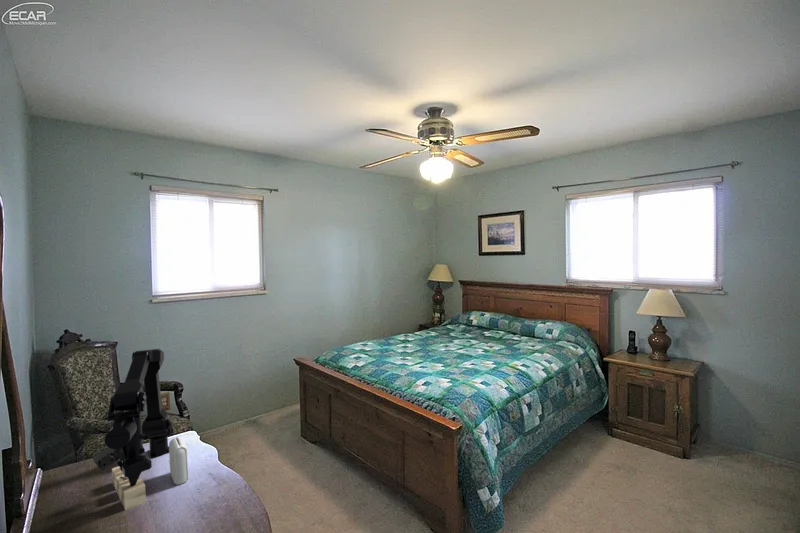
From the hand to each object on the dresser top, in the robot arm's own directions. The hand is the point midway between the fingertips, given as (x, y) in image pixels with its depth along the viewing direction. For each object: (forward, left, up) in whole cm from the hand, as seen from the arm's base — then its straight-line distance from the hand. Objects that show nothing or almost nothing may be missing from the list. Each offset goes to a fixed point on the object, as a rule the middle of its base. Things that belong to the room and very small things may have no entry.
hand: (132, 485), depth 110 cm
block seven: (-7, 0, -5) cm, 9 cm away
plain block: (0, 0, -5) cm, 5 cm away
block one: (-14, 0, -5) cm, 15 cm away
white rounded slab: (-4, +13, -5) cm, 14 cm away
